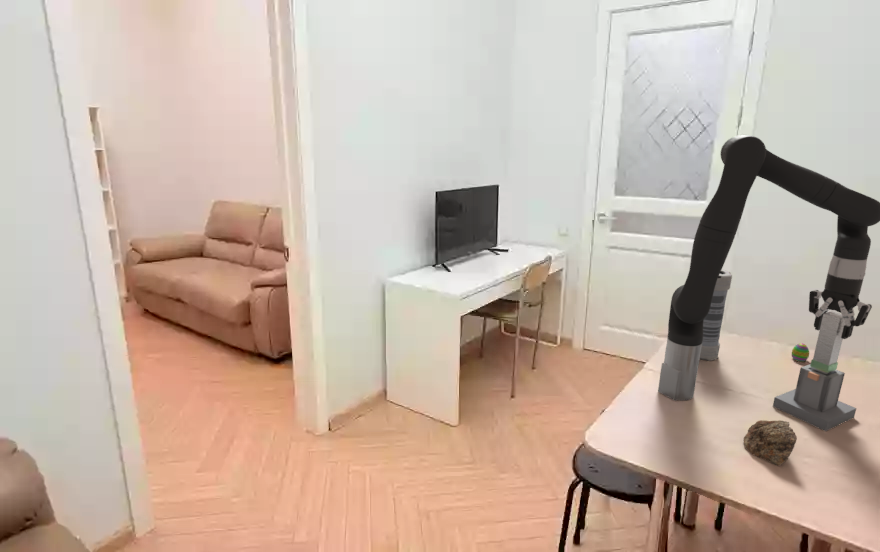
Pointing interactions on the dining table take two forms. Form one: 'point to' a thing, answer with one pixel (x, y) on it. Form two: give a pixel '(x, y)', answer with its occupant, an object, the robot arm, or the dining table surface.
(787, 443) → the rock
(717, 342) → the canister
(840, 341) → the column
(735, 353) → the dining table surface
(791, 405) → the stand
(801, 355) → the egg
